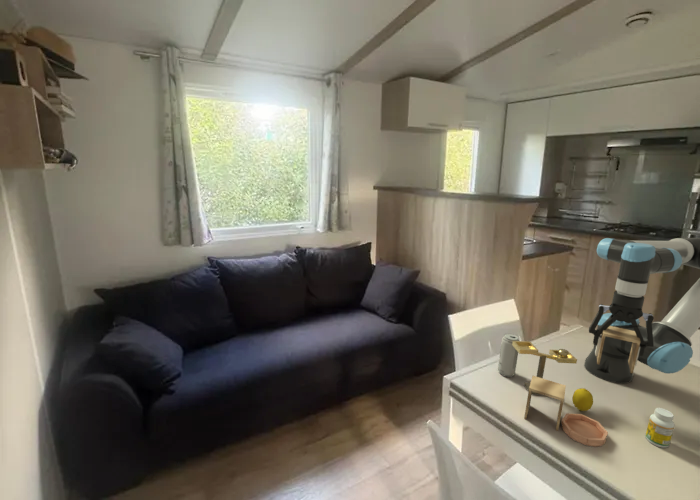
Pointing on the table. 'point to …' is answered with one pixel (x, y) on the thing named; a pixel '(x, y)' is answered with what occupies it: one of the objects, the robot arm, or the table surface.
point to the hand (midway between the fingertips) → (614, 358)
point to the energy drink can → (508, 356)
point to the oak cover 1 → (546, 393)
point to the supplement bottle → (660, 428)
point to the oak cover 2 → (622, 335)
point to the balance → (543, 357)
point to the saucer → (584, 430)
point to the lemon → (582, 399)
